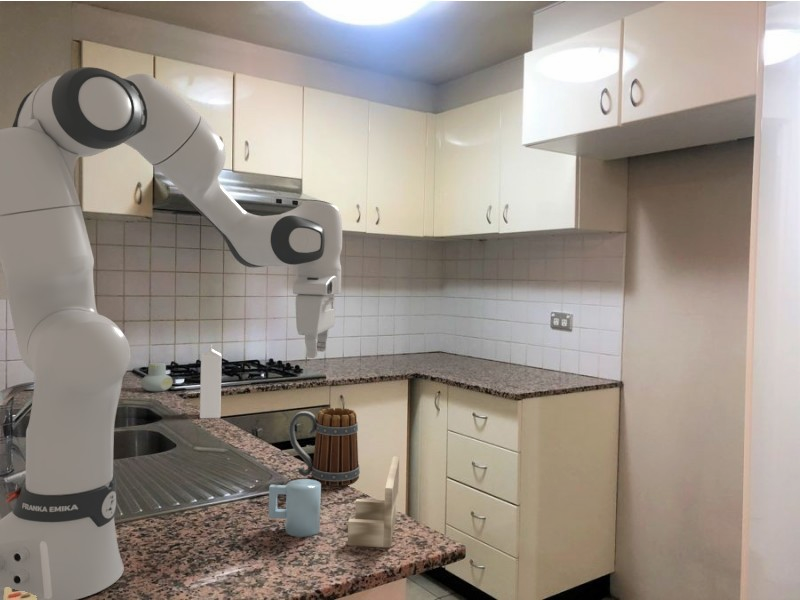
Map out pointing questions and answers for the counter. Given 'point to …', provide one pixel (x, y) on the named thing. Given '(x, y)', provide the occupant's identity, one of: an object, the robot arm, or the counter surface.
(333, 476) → the mug
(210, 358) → the milk
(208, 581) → the counter surface
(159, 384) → the air freshener
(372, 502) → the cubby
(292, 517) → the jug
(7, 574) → the robot arm
